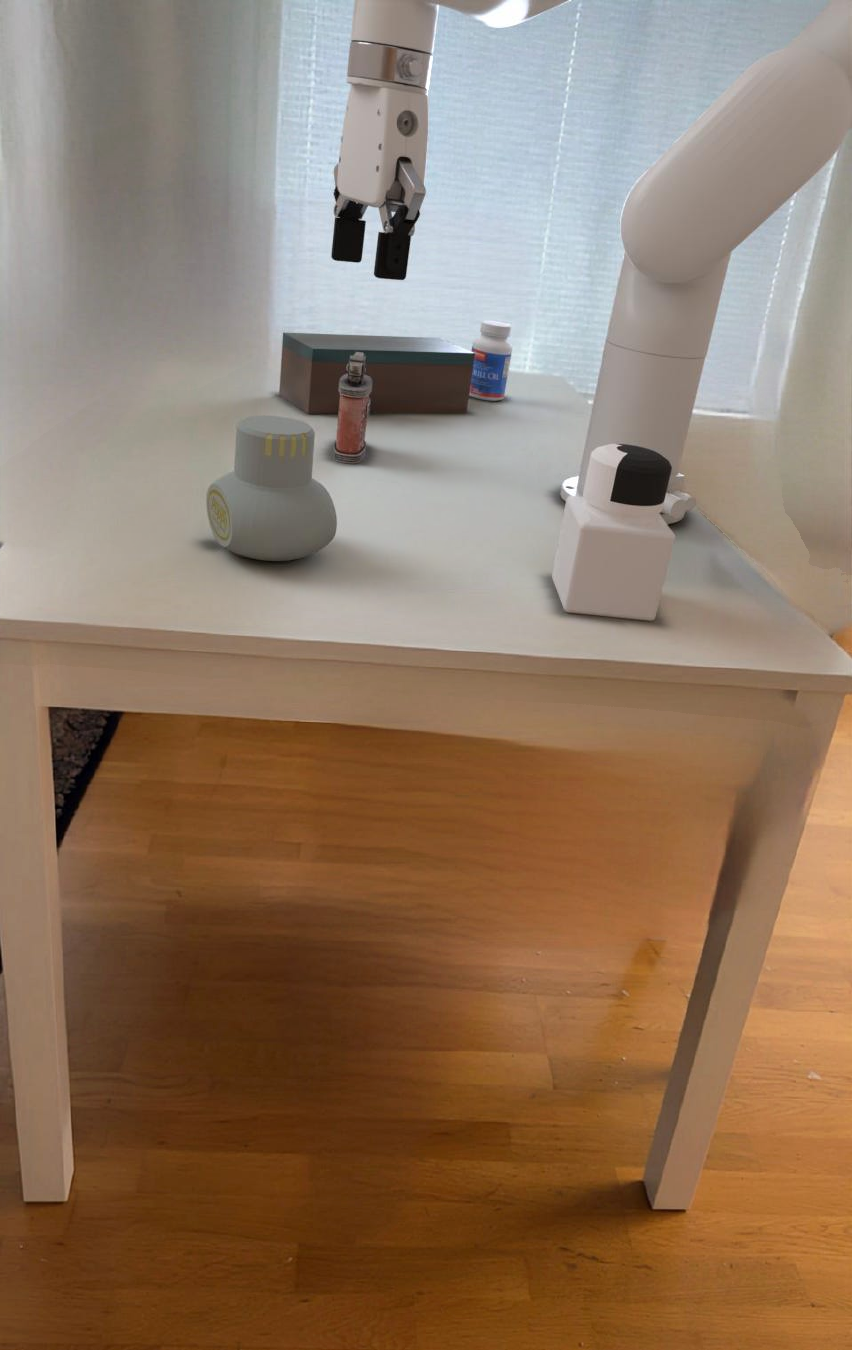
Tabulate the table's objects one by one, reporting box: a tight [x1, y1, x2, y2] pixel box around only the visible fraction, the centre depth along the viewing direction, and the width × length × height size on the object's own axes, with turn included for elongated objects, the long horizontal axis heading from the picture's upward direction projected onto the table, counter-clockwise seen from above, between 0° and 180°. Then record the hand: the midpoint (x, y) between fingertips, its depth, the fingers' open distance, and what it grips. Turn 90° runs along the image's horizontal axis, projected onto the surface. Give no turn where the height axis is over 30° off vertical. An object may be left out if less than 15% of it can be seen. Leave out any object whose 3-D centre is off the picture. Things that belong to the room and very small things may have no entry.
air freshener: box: [206, 415, 338, 562], centre depth 82 cm, size 11×8×10 cm
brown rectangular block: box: [278, 332, 475, 415], centre depth 132 cm, size 9×22×8 cm, turn 119°
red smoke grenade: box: [332, 352, 372, 464], centre depth 110 cm, size 8×3×10 cm, turn 179°
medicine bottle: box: [551, 444, 676, 622], centre depth 81 cm, size 7×7×12 cm
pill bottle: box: [469, 319, 513, 402], centre depth 144 cm, size 6×5×10 cm
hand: (367, 269), depth 105 cm, fingers open, 9 cm apart
